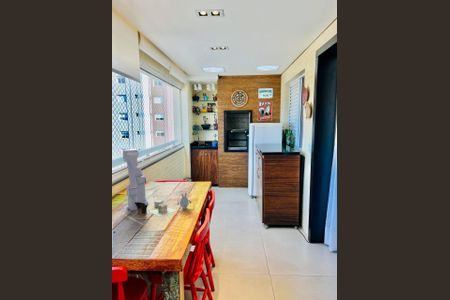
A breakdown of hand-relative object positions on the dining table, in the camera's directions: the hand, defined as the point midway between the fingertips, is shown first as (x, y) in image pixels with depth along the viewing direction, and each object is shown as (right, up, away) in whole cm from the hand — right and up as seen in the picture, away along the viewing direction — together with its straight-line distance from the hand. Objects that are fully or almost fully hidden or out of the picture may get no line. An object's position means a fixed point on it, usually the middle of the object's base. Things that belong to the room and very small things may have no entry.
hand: (142, 212), depth 163 cm
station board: (+13, -1, +4) cm, 14 cm away
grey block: (+8, 0, +15) cm, 17 cm away
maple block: (+13, 0, +4) cm, 14 cm away
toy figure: (+28, 0, +9) cm, 29 cm away
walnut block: (0, -2, 0) cm, 2 cm away
